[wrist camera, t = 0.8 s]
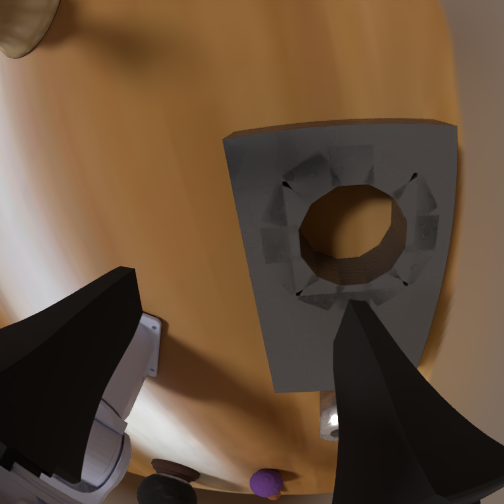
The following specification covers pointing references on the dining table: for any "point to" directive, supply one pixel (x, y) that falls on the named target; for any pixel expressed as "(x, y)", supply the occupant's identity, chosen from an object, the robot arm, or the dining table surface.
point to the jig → (348, 269)
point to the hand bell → (24, 24)
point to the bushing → (328, 416)
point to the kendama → (266, 483)
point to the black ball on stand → (168, 484)
